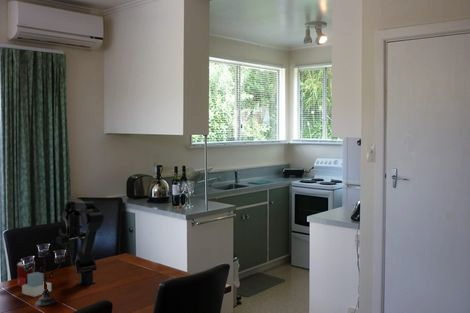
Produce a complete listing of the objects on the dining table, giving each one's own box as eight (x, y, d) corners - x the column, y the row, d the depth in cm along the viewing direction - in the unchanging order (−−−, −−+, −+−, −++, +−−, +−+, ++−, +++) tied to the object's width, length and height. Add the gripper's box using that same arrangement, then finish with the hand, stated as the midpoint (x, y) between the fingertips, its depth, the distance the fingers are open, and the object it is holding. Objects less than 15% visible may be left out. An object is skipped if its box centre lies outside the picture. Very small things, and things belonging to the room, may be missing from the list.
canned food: (28, 288, 220) (28, 265, 220) (14, 287, 222) (13, 264, 222) (38, 283, 228) (38, 261, 227) (24, 282, 230) (23, 260, 229)
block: (43, 284, 215) (43, 273, 215) (33, 287, 211) (33, 276, 211) (37, 282, 218) (37, 271, 218) (27, 284, 214) (27, 274, 214)
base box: (51, 291, 216) (51, 283, 216) (34, 297, 209) (34, 288, 209) (39, 288, 221) (39, 280, 221) (22, 294, 213) (22, 285, 213)
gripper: (80, 219, 249) (80, 247, 250) (49, 224, 234) (49, 255, 235) (93, 221, 243) (93, 250, 244) (62, 227, 227) (62, 258, 228)
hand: (75, 253), depth 238 cm, fingers open, 9 cm apart
